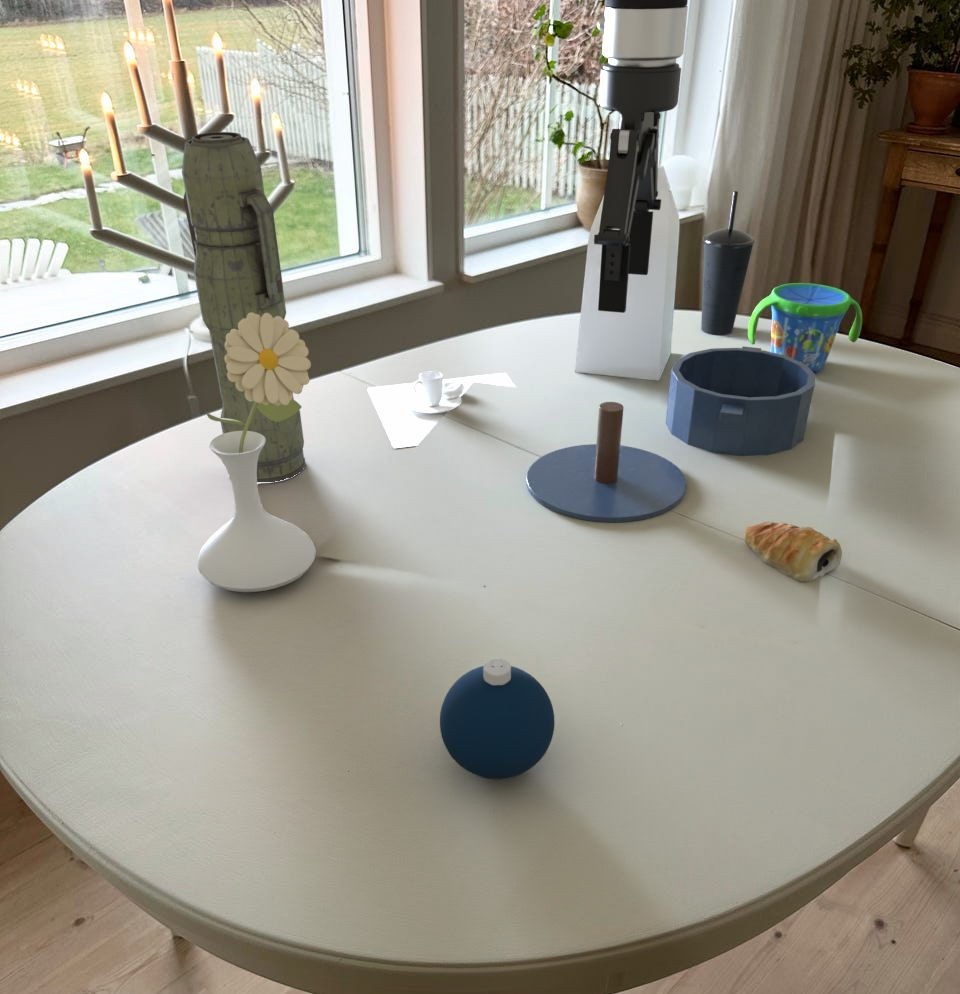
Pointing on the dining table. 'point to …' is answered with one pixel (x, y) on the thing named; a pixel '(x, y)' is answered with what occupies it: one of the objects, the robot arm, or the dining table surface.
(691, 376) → the pot
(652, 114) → the robot arm
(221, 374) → the thermos
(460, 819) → the dining table surface
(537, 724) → the christmas ornament
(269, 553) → the flower in vase
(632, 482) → the lid
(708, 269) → the drinking cup
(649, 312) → the milk
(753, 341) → the snack cup
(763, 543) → the pastry
